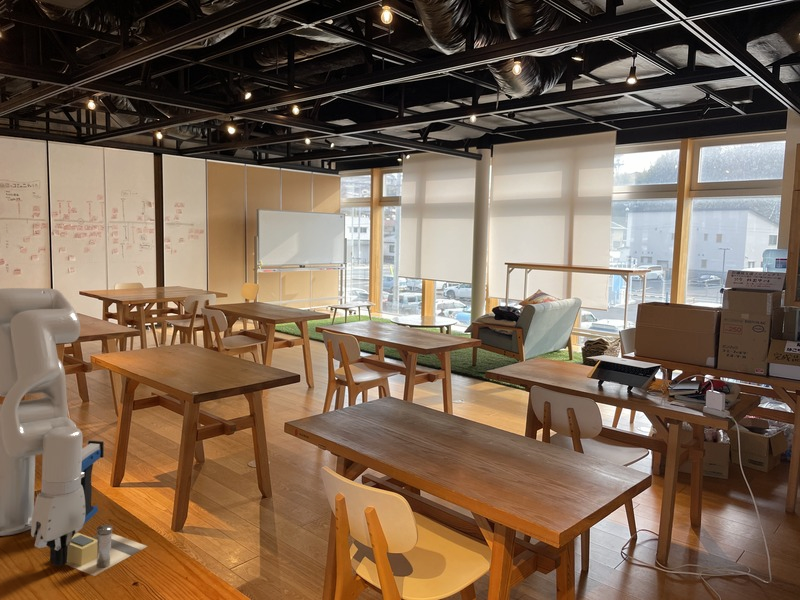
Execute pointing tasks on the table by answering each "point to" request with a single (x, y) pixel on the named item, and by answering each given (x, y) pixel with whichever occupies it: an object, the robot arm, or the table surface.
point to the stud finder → (82, 549)
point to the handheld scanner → (88, 458)
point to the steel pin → (104, 546)
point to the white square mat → (119, 552)
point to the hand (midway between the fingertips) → (58, 563)
